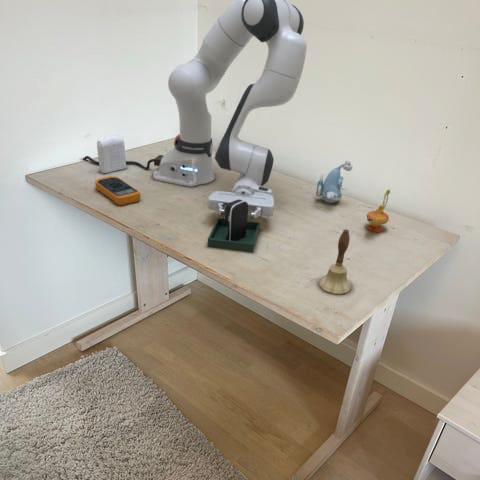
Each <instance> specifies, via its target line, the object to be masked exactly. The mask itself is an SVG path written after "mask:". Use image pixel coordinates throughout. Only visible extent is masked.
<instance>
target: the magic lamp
mask: <svg viewBox="0 0 480 480" xmlns="http://www.w3.org/2000/svg"><path fill="white" fill-rule="evenodd" d="M390 194H391V189H390V188H388V189H386V192H385V193H384V196H383V201H382V204H381V205H379V206H378V208H377V209H376V210H372V211H368V212H367V214H366V221H367V222H368V223H369V224H368V225H367V226H366V228H367V229H368V230H369V231H372V232H378V233H380V232H383V231H384V228H383V226H381V225H385V224H386V223H387V222H389V220H390V217H389V215H388V214H387V213H386V212H384V210H385V208H386V206H387V203H388V200H389V195H390Z"/></svg>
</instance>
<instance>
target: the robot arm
mask: <svg viewBox="0 0 480 480" xmlns="http://www.w3.org/2000/svg"><path fill="white" fill-rule="evenodd" d="M304 22H305V21H304V16H303V14H302V12H301V11H300V9H299V8H297V7H296V6H295V5H294V4H292V3H290V2H288V1H287V0H233V1H232V2H231V3H230V4H229V5H227V7H226V8H225V10H224V11H223V12H222V13H221V14H220V16H219V17H217V20H216V21H215V22H214V23H213V25H212V26H211V28H210V29H209V31H207V33H206V35H205V36H204V37H203V39H202V43H201V46H200V47H199V50H198V51H197V53H196V54H195V56H194V57H193V58H192V59H190V60H189V61H187V62H185V63H182V64H180V65H178V66H176V67H175V69H173V71H172V72H171V73H170V74H169V77H168V80H167V81H168V82H167V86H168V90H169V92H170V94H171V96H172V97H173V98H174V100H175V103H176V107H177V112H178V119H179V121H178V122H179V134H177V135H176V136H175V139H174V141H173V146H174V147H173V148H172V149H170V150H169V151H168V152H167V153H165V154H163V155H162V154H159V155H157V156H156V157H155V158H151V159H149V160H148V161H147V163H146V167H145V165H143V164H141V163H140V162H138V161H131V160H126V165H129V164H130V165H136V166H138V167H139V168H141V169H143V170H146V171H147V170H150V166H151V165H150V164H151V163H153V166H155V167H156V166H157V168H156V169H155V170H154V171H153V174H152V176H153V180H156V181H160V182H164V183H170V184H174V185H180V186H185V187H191V188H193V187H195V186H197V185H204V184H205V185H206V184H209V183H211V182H213V181H214V180H215V178H216V177H215V173H214V167H213V159H212V156H213V148H214V147H213V138H212V114H211V113H210V112H209V108H208V104H207V94H209V93H211V92H213V91H214V90H215V88H216V87H217V86H218V85H219V83H220V82H221V81H222V79H223V77H224V76H225V74H226V72H227V71H228V69H229V67H230V66H231V64H232V63H233V62H234V61H235V59H236V58H237V57H238V56H239V55H240V54H241V53H242V51H243V50H244V49H245V47H246V46H247V45H248V43H249V42H250V41H251V39H253V37H254V38H256V40H258V41H259V42H260V43H265V44H266V45H267V57H266V61H265V64H264V67H263V71H262V73H261V75H260V77H259V78H258V79H257V81H256V82H254V83H251V84H248V86H247V87H246V88H245V90H244V92H243V94H242V96H241V98H240V100H239V102H238V104H237V106H236V108H235V110H234V112H233V115H232V117H231V120H230V122H229V124H228V125H227V128H226V129H225V132H224V135H223V136H222V137H221V140H220V141H219V142H218V144H217V146H216V149H215V152H214V159H215V161H216V163H217V165H218V167H219V168H220V169H221V170H226V171H232V172H235V173H239V174H238V176H237V177H236V180H235V182H234V184H233V185H232V186H233V187H232V189H231V190H230V191H223V190H216V191H212V192H211V194H210V195H209V196H208V198H207V208H208V210H210V211H216V212H218V215H219V216H225V208H226V205H227V204H228V203H230V202H233V201H235V200H238V199H240V200H243V201H246V202H247V203H248V215H250V219H251V220H256V218H258V217H269V218H270V217H273V216H274V208H275V197H274V196H273V189H271V188H266V187H263V186H264V185H266V184H267V183H268V181H269V179H270V176H271V173H272V171H273V170H272V169H273V166H274V159H275V158H274V156H273V153H272V152H271V150H270V148H267V147H264V146H261V145H258V144H254V143H252V142H248V141H245V140H242V139H240V138H239V135H240V132H241V131H242V128H243V126H244V124H245V121H246V119H247V118H248V115H249V114H250V113H251V112H252V111H254V110H256V109H260V108H271V107H279V106H283V105H285V104H287V103H288V102H290V101H291V100H292V99H293V98H294V95H295V94H296V91H297V89H298V87H299V84H300V80H301V77H302V74H303V71H304V66H305V61H306V56H307V50H308V49H307V47H308V45H307V42H306V40H305V38H304V37H303V35H302V33H303V31H304V26H305V23H304ZM84 157H85V158H84ZM84 157H83V158H82V161H86V160H89V161H90V162H92V163H93V164H96V165H99V161H96V160H95V159H94V158H92V157H91V156H89V155H86V156H84Z"/></svg>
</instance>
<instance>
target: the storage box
mask: <svg viewBox="0 0 480 480" xmlns="http://www.w3.org/2000/svg"><path fill="white" fill-rule="evenodd" d="M260 226H261V222H258V221H248V220H247V227H246V236H244V237H242V238H240V239H238V240H236V241H230V240H227V239H226V236H227V235H228V223H227V221H225V217H217V218H216V220H215V222H214V224H213V227H212V229H211V231H210V233H209V235H208V238H207V248H216V249H222V250H229V251H230V250H231V251H239V252H245V253H246V252H247V253H254V250H255V248H256V244H257V240H258V237H259V233H260V229H261V228H260Z"/></svg>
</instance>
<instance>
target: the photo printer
mask: <svg viewBox="0 0 480 480" xmlns="http://www.w3.org/2000/svg"><path fill="white" fill-rule="evenodd" d="M124 140H125V139H124V137H123V136H120V135H107V136H104V137H101V138H100V139H98V140H97V142H96V148H97V149H96V150H97V158H98V162H99V164H98V167H99V172H100V173H101V174H108V173H112V172H117V171H122V170H125V169H126V168H127V164H126V161H127V160H126V148H125V147H126V146H125V141H124Z"/></svg>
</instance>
